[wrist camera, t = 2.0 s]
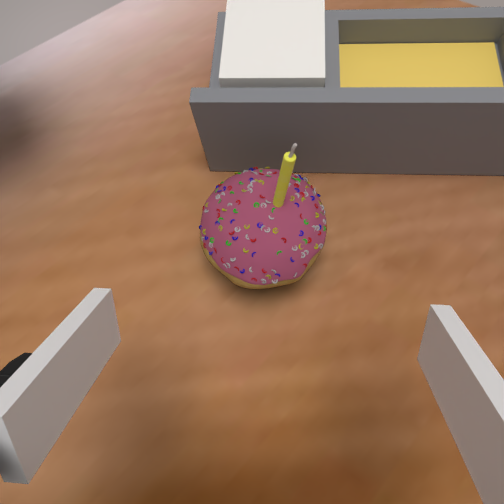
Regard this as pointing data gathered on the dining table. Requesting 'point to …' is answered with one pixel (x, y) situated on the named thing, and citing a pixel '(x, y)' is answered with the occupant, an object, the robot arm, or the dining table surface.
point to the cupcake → (263, 226)
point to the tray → (373, 99)
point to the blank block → (273, 44)
